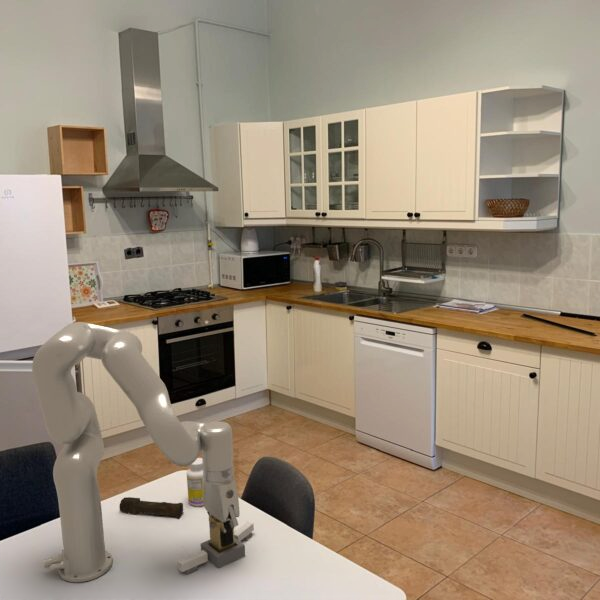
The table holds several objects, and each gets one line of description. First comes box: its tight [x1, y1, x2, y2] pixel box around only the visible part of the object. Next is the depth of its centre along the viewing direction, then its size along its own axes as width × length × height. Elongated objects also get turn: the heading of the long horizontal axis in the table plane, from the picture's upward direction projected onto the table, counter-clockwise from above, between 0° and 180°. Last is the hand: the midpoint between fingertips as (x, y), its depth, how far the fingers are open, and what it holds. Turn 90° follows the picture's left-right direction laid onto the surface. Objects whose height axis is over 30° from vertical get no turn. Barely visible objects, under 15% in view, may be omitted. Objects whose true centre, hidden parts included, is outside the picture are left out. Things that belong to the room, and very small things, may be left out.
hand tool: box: [118, 496, 184, 519], centre depth 181 cm, size 19×4×5 cm, turn 77°
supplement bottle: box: [186, 457, 204, 507], centre depth 186 cm, size 7×7×13 cm
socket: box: [177, 521, 255, 575], centre depth 159 cm, size 9×24×3 cm, turn 129°
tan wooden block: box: [208, 515, 235, 553], centre depth 158 cm, size 4×6×9 cm
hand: (222, 540), depth 158 cm, fingers closed on tan wooden block, 4 cm apart
